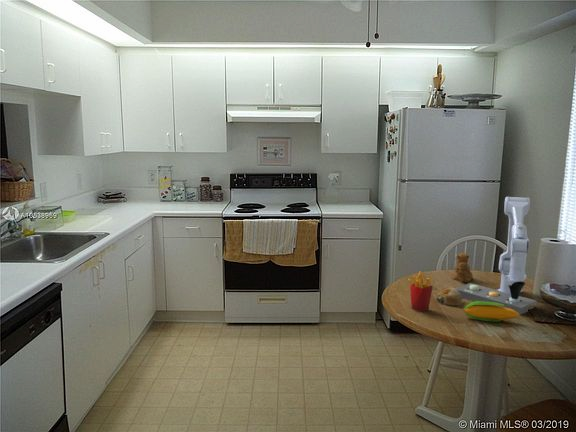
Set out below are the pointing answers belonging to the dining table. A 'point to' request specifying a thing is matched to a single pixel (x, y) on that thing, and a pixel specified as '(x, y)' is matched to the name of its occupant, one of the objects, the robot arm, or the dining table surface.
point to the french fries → (420, 292)
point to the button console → (495, 298)
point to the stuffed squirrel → (462, 268)
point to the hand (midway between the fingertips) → (514, 298)
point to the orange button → (494, 294)
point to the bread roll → (449, 297)
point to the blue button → (514, 300)
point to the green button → (474, 287)
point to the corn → (489, 311)
